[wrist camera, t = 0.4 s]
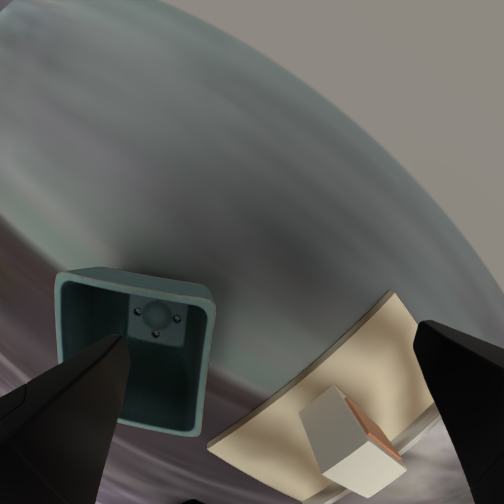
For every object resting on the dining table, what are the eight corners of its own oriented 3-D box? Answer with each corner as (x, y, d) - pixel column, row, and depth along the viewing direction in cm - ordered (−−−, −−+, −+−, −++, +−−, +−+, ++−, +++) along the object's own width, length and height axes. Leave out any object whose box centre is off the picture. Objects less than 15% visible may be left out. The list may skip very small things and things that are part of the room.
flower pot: (221, 268, 23) (218, 301, 14) (207, 370, 24) (200, 440, 15) (112, 250, 22) (53, 270, 13) (107, 351, 23) (63, 407, 14)
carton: (340, 443, 25) (367, 498, 17) (298, 412, 24) (321, 474, 16) (373, 417, 25) (409, 468, 17) (335, 382, 24) (371, 438, 16)
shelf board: (306, 498, 27) (311, 515, 24) (207, 442, 25) (206, 463, 22) (451, 382, 27) (466, 394, 24) (389, 290, 24) (407, 298, 21)
